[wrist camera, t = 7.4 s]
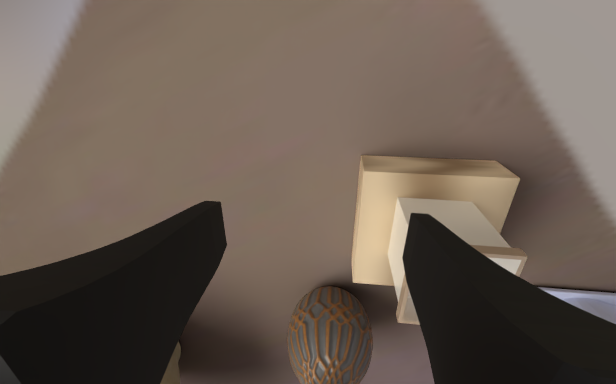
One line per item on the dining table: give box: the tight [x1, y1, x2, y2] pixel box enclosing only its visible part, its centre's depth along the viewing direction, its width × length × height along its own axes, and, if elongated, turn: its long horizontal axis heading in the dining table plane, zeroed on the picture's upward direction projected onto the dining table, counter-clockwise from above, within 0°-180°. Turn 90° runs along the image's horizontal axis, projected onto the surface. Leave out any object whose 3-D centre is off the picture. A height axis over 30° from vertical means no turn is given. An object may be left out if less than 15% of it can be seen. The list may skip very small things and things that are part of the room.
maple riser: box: [352, 155, 520, 286], centre depth 21 cm, size 9×9×3 cm
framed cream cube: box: [388, 197, 528, 325], centre depth 17 cm, size 5×5×6 cm
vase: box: [287, 286, 373, 384], centre depth 23 cm, size 7×7×9 cm
